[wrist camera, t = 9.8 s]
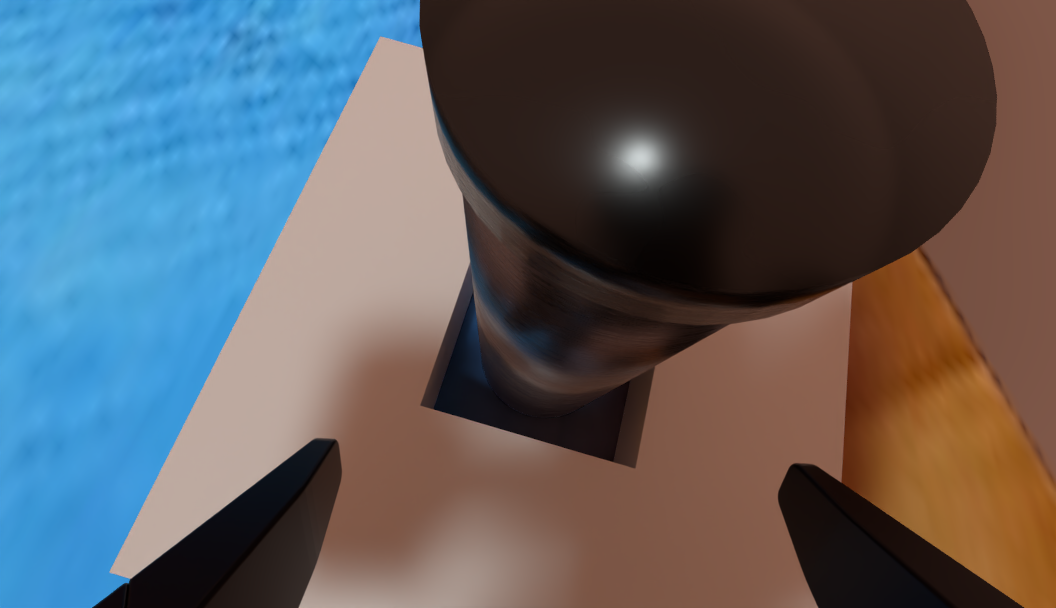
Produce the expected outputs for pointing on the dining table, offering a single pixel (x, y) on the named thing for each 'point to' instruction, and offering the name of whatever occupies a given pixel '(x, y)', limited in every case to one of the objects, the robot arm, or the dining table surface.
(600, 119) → the tube
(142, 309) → the dining table surface
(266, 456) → the mount plate
